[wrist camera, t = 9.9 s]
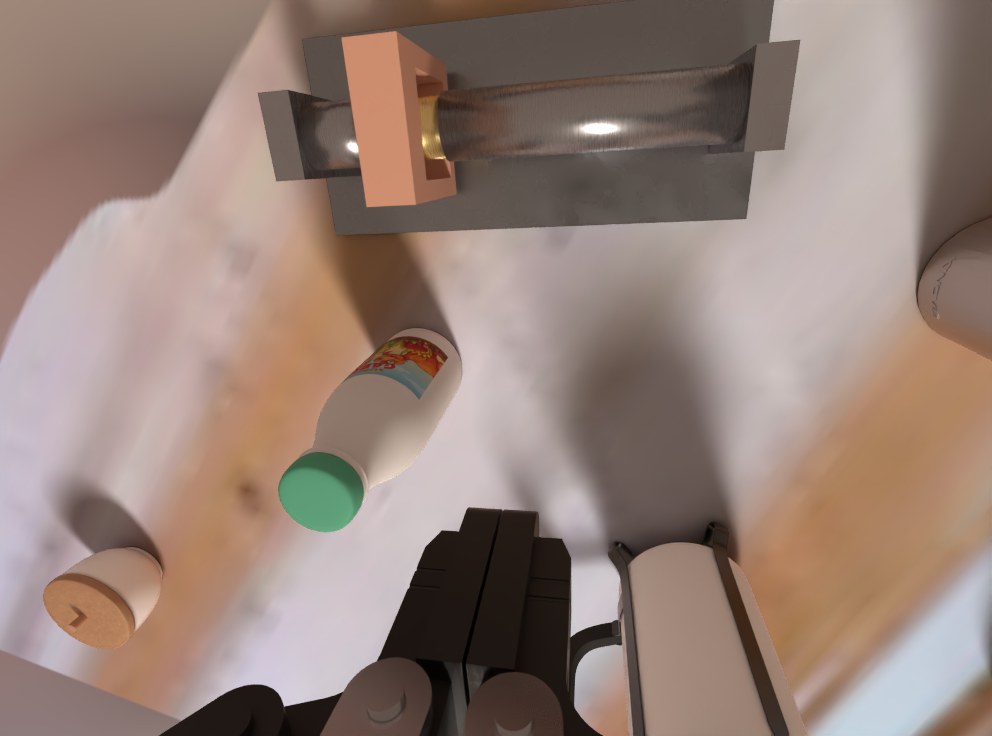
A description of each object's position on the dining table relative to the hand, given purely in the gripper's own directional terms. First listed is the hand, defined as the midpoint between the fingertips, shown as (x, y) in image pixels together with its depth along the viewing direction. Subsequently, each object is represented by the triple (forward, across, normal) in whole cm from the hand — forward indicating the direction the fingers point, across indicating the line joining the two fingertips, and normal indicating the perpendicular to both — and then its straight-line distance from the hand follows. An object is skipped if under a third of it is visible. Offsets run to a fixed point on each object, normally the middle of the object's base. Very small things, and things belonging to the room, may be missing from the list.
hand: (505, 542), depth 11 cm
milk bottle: (+32, +13, +9) cm, 36 cm away
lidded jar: (+32, +54, +37) cm, 73 cm away
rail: (+32, +3, -10) cm, 34 cm away
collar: (+30, +10, -10) cm, 33 cm away
